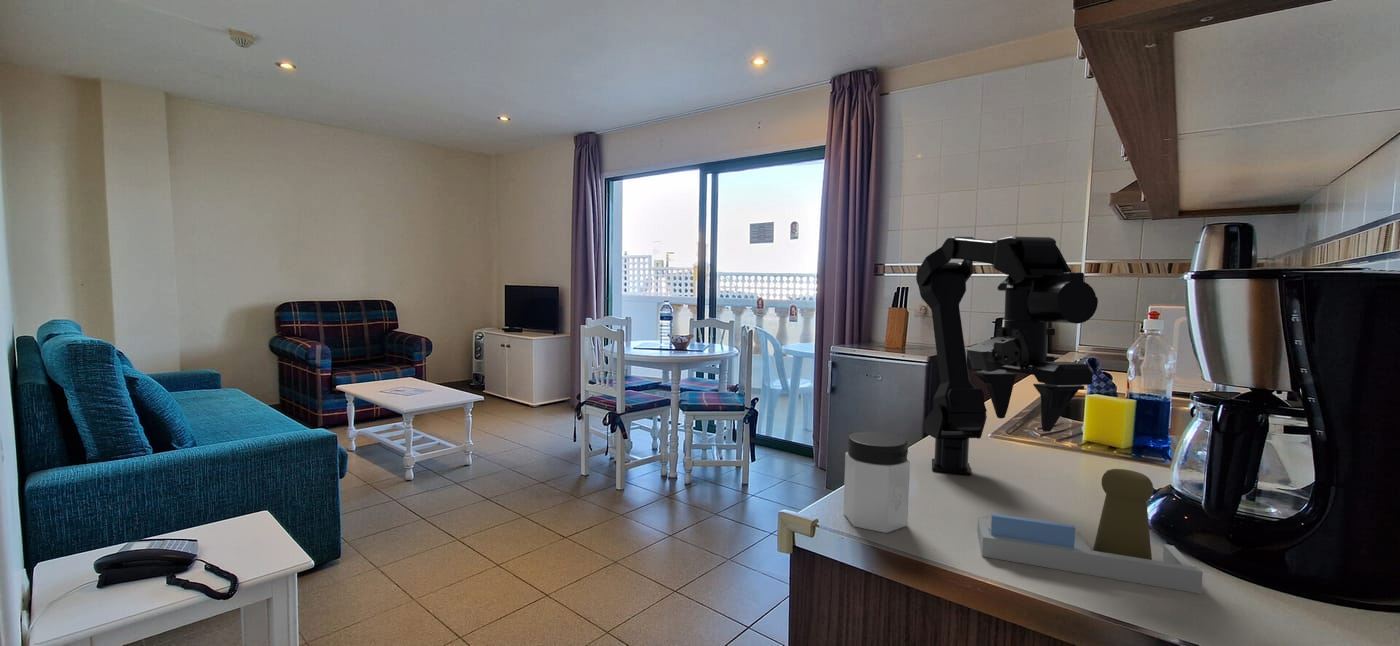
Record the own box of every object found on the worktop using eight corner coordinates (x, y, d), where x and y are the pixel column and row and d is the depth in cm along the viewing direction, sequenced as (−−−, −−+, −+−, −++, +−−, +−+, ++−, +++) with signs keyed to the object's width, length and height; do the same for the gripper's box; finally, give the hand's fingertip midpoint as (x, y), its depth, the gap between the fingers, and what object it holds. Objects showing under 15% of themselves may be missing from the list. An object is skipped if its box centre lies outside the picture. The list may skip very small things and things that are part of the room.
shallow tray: (976, 528, 80) (978, 493, 80) (1169, 558, 72) (1172, 519, 72) (982, 556, 72) (984, 517, 72) (1200, 593, 64) (1204, 550, 63)
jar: (877, 538, 77) (880, 450, 76) (832, 517, 84) (834, 436, 83) (918, 523, 82) (922, 441, 81) (872, 504, 88) (875, 428, 88)
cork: (1093, 541, 77) (1098, 461, 76) (1151, 554, 73) (1157, 470, 72) (1092, 558, 72) (1097, 473, 71) (1153, 573, 68) (1160, 483, 67)
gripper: (939, 318, 93) (937, 413, 94) (1026, 323, 75) (1022, 441, 75) (999, 319, 95) (996, 411, 96) (1098, 323, 77) (1093, 438, 78)
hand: (1022, 424), depth 86 cm, fingers open, 9 cm apart
